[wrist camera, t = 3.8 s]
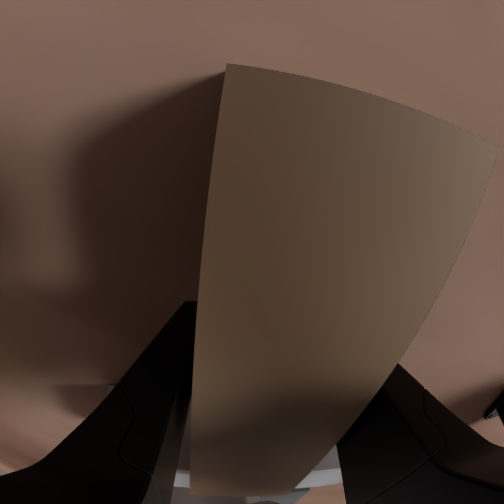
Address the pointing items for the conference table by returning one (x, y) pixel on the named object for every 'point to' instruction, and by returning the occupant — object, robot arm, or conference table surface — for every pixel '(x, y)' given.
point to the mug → (211, 498)
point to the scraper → (314, 271)
